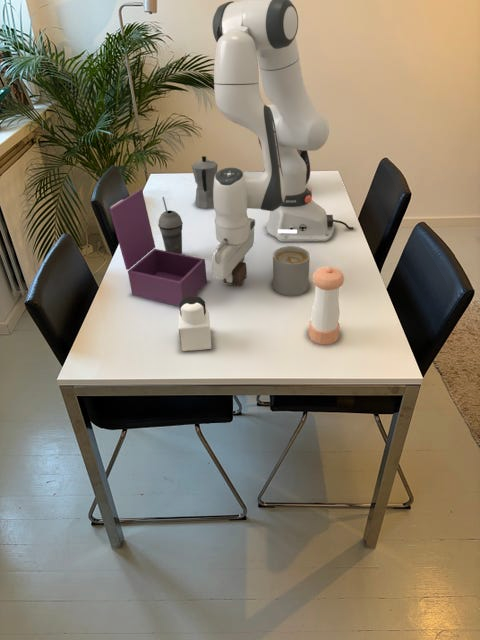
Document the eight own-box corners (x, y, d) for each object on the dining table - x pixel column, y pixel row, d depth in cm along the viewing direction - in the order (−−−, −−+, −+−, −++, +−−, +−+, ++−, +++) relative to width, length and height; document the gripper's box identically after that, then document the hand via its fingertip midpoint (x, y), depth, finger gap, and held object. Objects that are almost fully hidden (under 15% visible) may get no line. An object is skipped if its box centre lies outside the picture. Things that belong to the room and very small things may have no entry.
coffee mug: (307, 296, 137) (308, 265, 131) (270, 294, 138) (270, 263, 132) (309, 271, 147) (311, 241, 141) (276, 269, 149) (276, 239, 143)
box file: (207, 282, 144) (205, 258, 140) (183, 307, 135) (180, 283, 130) (158, 271, 150) (154, 248, 146) (132, 295, 140) (127, 271, 136)
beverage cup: (182, 264, 153) (175, 203, 141) (160, 262, 154) (150, 201, 142) (189, 252, 159) (182, 192, 147) (167, 251, 160) (159, 191, 148)
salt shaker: (344, 337, 122) (352, 269, 111) (321, 348, 119) (327, 280, 108) (325, 322, 127) (330, 256, 116) (302, 333, 124) (306, 266, 113)
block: (246, 277, 144) (246, 262, 140) (239, 286, 140) (239, 271, 137) (231, 274, 145) (230, 259, 142) (223, 283, 142) (222, 268, 139)
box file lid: (142, 189, 135) (128, 188, 137) (111, 209, 125) (97, 207, 127) (155, 247, 145) (142, 245, 147) (128, 270, 135) (114, 268, 137)
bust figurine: (182, 333, 126) (176, 293, 118) (210, 331, 126) (206, 291, 119) (181, 351, 120) (176, 311, 113) (211, 349, 120) (207, 308, 113)
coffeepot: (196, 197, 194) (191, 150, 183) (220, 196, 194) (217, 149, 183) (193, 214, 182) (189, 165, 171) (219, 213, 182) (216, 164, 171)
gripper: (226, 251, 125) (229, 297, 133) (257, 217, 139) (258, 260, 148) (204, 247, 127) (208, 292, 135) (237, 214, 142) (239, 256, 150)
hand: (234, 275), depth 142 cm, fingers closed on block, 5 cm apart
